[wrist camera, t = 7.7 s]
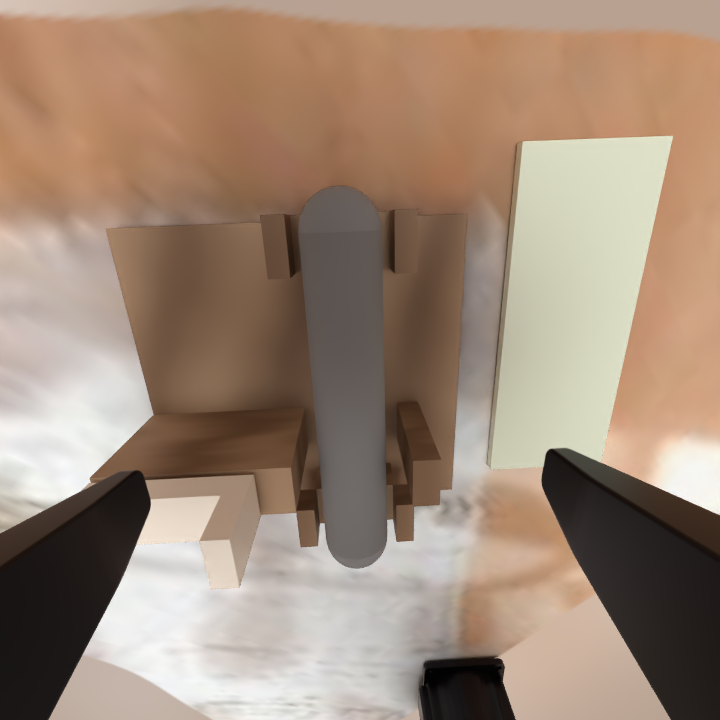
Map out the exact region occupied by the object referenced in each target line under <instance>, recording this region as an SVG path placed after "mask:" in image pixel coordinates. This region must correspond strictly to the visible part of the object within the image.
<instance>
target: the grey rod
mask: <svg viewBox="0 0 720 720" xmlns="http://www.w3.org/2000/svg"><path fill="white" fill-rule="evenodd" d="M299 244H300V255H301V266H302V277H303V288H304V299H305V310H306V321H307V332H308V343H309V354H310V365H311V376H312V387H313V398H314V409H315V420H316V431H317V442H318V453H319V464H320V475H321V486H322V497H323V508H324V519H325V530H326V540H327V545H328V548H329V550H330V552H331V554H332V555H333V557H334V558H335V559H336V560H337V561H338V562H339V563H341V564H342V565H344V566H346V567H349V568H357V569H358V568H364V567H367V566H369V565H371V564H373V563H374V562H375V561H376V560H377V559H378V558H379V557H380V556H381V555H382V553H383V551H384V548H385V546H386V542H387V491H386V433H385V376H384V319H383V262H382V227H381V220H380V217H379V213H378V211H377V209H376V207H375V206H374V204H373V203H372V202H371V200H370V199H369V198H368V197H367V196H366V195H364V194H363V193H362V192H360V191H358V190H356V189H354V188H351V187H347V186H331V187H328V188H325V189H322V190H321V191H319V192H317V193H316V194H314V195H313V196H312V197H311V198H310V199H309V200H308V202H307V203H306V205H305V206H304V208H303V210H302V213H301V215H300V220H299Z"/></svg>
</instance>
